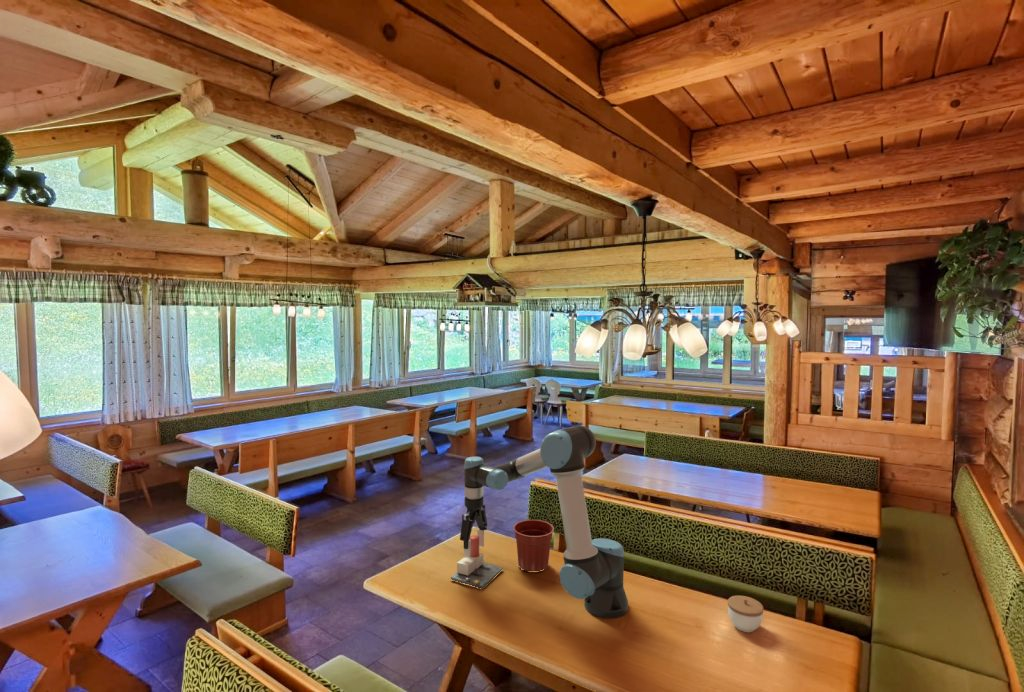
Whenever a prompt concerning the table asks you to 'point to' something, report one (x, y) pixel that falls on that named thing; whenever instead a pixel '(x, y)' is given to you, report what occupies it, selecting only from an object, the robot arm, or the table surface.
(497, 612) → the table surface
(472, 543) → the lockout cap
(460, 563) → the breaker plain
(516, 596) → the table surface
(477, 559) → the block
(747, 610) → the lidded jar
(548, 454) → the robot arm
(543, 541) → the flower pot
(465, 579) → the panel
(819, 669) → the table surface
